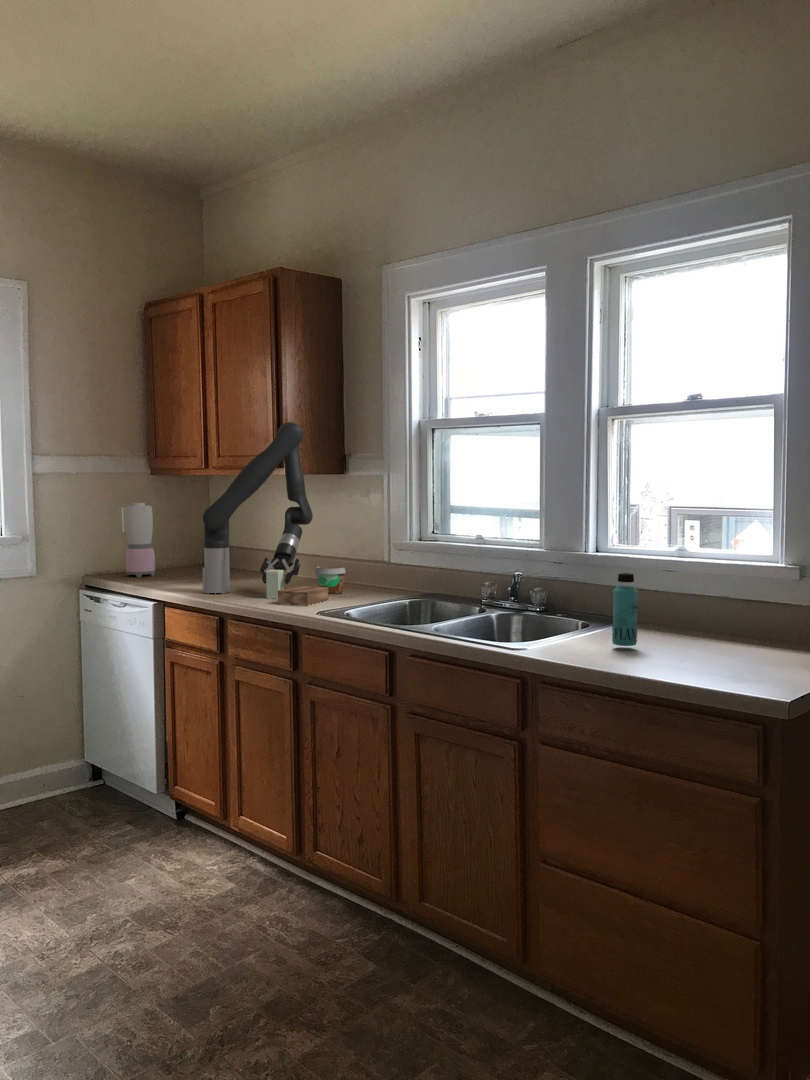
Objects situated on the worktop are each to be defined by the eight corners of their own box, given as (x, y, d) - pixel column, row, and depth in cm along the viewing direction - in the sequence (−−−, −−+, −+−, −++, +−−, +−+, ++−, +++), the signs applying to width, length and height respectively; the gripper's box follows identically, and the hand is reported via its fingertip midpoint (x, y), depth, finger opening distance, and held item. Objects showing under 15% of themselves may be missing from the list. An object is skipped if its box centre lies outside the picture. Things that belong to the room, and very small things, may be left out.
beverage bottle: (610, 650, 229) (611, 574, 228) (613, 645, 236) (614, 571, 234) (635, 652, 227) (637, 575, 225) (638, 647, 233) (640, 572, 232)
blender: (160, 575, 389) (158, 502, 386) (134, 578, 380) (132, 503, 378) (144, 572, 400) (141, 501, 398) (118, 574, 392) (116, 502, 389)
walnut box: (277, 605, 308) (277, 590, 308) (299, 599, 321) (299, 585, 321) (307, 607, 303) (307, 592, 303) (328, 601, 316) (328, 587, 315)
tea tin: (266, 598, 321) (265, 571, 320) (271, 596, 326) (271, 569, 325) (278, 599, 320) (278, 571, 319) (283, 597, 324) (283, 569, 323)
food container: (309, 594, 332) (308, 567, 331) (318, 592, 337) (318, 565, 337) (337, 596, 326) (336, 569, 325) (345, 594, 332) (345, 567, 331)
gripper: (266, 541, 331) (253, 575, 321) (301, 542, 327) (290, 576, 317) (272, 554, 337) (260, 588, 327) (307, 555, 333) (296, 589, 323)
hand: (275, 582), depth 322 cm, fingers open, 8 cm apart
